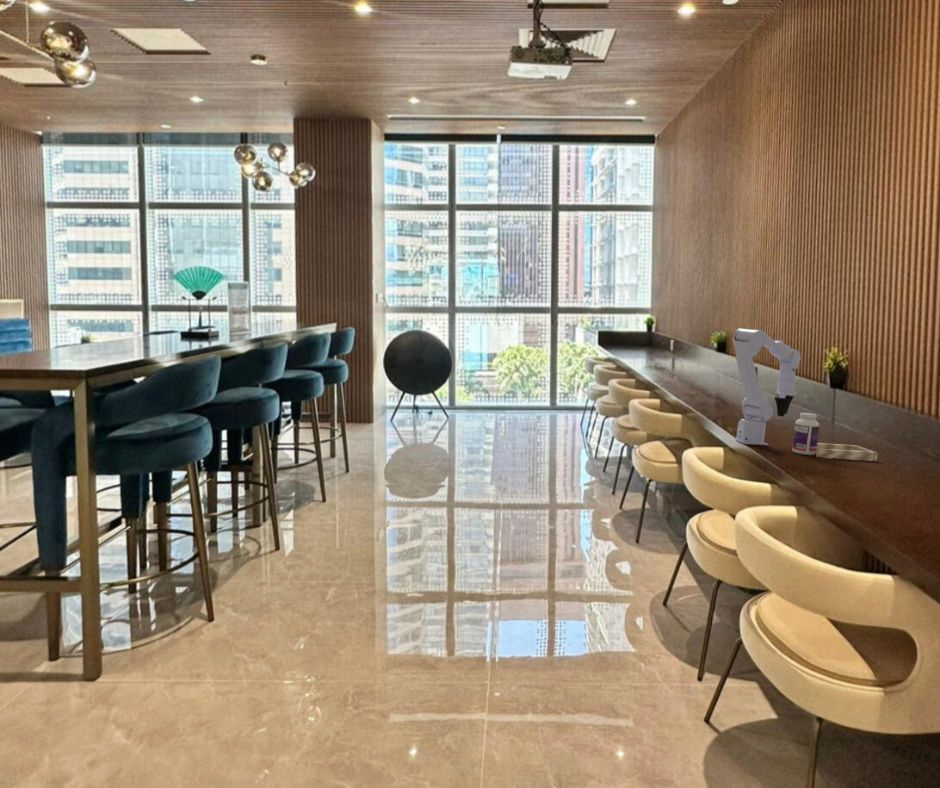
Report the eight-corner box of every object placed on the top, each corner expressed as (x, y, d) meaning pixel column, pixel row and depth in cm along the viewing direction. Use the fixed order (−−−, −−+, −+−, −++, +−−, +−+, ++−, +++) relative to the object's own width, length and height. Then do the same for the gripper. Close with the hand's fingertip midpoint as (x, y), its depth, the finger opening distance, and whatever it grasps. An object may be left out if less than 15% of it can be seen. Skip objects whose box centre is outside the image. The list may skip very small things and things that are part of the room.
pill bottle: (811, 452, 285) (816, 413, 283) (818, 456, 277) (824, 416, 275) (788, 450, 286) (793, 411, 284) (795, 454, 278) (800, 414, 276)
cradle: (818, 457, 275) (819, 449, 275) (800, 449, 288) (801, 441, 288) (876, 461, 277) (877, 452, 277) (855, 453, 290) (857, 445, 289)
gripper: (795, 382, 292) (790, 418, 294) (799, 379, 305) (795, 414, 306) (775, 380, 295) (770, 416, 297) (780, 377, 308) (776, 411, 310)
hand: (782, 415), depth 302 cm, fingers open, 7 cm apart
